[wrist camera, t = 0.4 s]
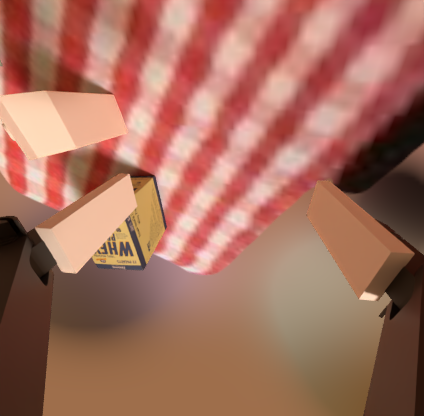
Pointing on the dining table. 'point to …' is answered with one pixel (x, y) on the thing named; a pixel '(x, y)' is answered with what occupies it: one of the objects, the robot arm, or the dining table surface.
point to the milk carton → (59, 120)
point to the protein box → (135, 230)
